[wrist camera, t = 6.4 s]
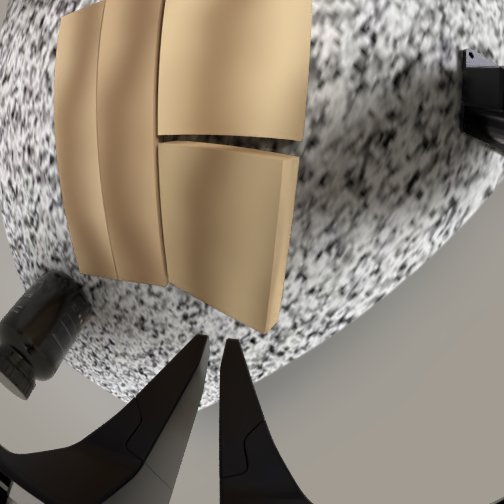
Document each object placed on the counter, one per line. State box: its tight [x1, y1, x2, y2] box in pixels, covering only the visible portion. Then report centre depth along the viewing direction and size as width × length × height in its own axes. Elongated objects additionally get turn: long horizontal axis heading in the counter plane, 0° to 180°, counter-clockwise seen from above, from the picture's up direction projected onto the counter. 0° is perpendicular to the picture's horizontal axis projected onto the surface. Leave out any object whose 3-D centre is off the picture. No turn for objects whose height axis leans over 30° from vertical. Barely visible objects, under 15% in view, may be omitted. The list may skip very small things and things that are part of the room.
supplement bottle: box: [0, 271, 90, 400], centre depth 18 cm, size 7×7×12 cm
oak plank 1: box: [158, 0, 312, 141], centre depth 12 cm, size 8×10×2 cm
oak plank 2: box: [158, 140, 299, 335], centre depth 15 cm, size 8×10×2 cm
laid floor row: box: [54, 0, 169, 287], centre depth 15 cm, size 8×20×2 cm, turn 177°
